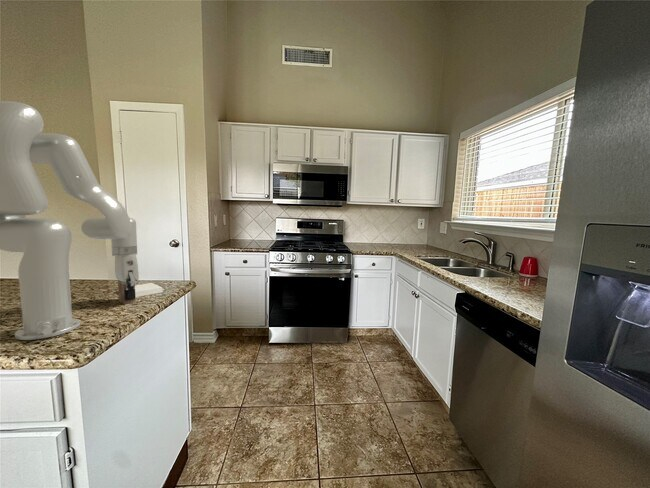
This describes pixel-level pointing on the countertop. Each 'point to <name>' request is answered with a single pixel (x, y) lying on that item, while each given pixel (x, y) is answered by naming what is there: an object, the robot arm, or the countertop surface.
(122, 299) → the two-tone wooden block
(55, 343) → the countertop surface
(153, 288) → the cutting board
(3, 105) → the robot arm
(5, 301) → the countertop surface
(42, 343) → the countertop surface
